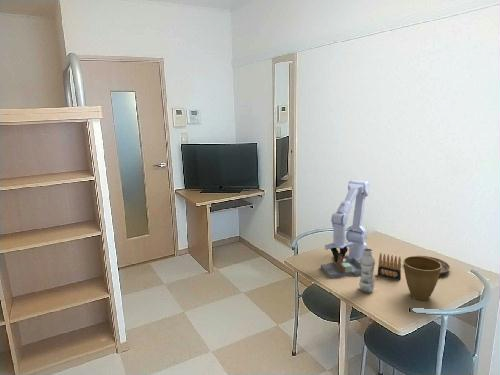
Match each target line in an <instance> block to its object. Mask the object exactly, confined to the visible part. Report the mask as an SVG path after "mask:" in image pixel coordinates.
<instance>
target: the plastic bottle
mask: <svg viewBox="0 0 500 375" xmlns="http://www.w3.org/2000/svg"><path fill="white" fill-rule="evenodd" d="M363 254H364V255H363V256H362V257H361V259H360V260H359V262H360V264H361V276H360V280H359V284H358V285H359V286H358V287H359V289H360V290H361V291H362V292H364V293H372V292H373V291H374V290H375V282H374V272H375V271H374V270H375V265H376V261H375V258H374V257H373V249H371V248H368V249H364V252H363Z"/></svg>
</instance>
